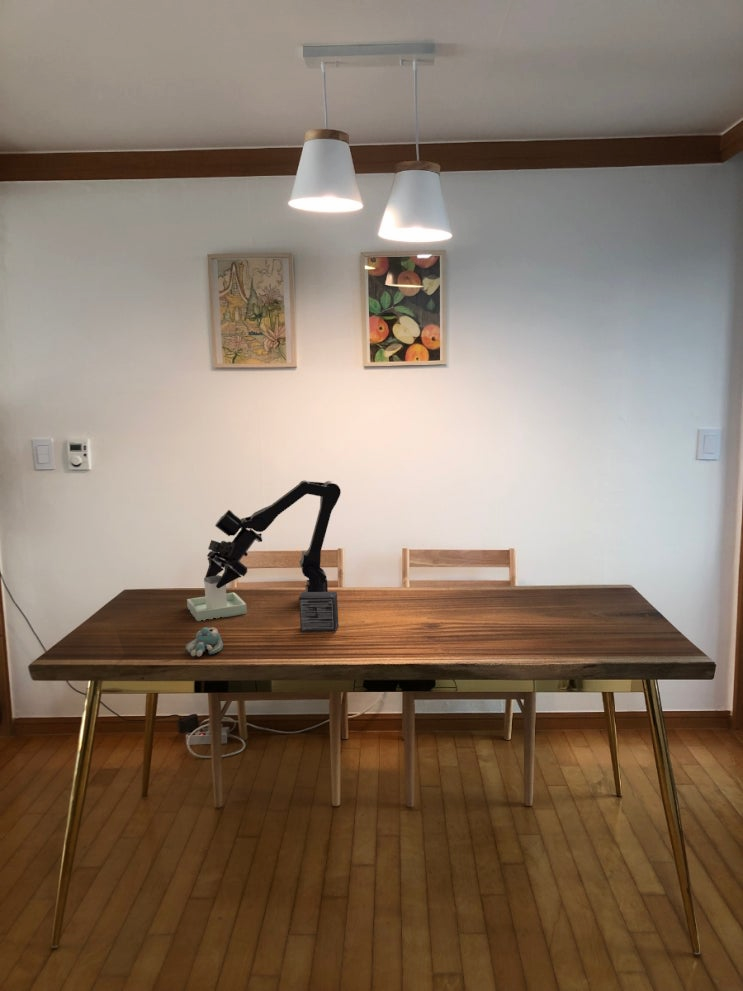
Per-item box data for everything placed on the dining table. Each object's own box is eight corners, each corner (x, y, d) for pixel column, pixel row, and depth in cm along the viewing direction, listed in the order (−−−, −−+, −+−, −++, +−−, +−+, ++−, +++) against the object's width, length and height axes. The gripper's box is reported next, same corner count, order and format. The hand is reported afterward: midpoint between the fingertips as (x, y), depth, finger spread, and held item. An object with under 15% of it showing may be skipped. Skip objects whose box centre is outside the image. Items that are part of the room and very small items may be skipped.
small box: (339, 625, 237) (337, 590, 235) (336, 632, 230) (334, 597, 229) (304, 625, 238) (302, 591, 236) (300, 632, 231) (298, 597, 230)
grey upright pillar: (220, 605, 258) (218, 575, 257) (227, 608, 254) (225, 578, 253) (206, 608, 256) (204, 577, 254) (212, 611, 252) (210, 580, 250)
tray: (235, 601, 265) (234, 592, 265) (247, 613, 251) (246, 604, 251) (187, 608, 259) (187, 599, 259) (197, 621, 245) (196, 611, 245)
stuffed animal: (174, 640, 212) (192, 618, 223) (178, 663, 215) (196, 640, 226) (212, 641, 210) (228, 619, 221) (215, 665, 212) (232, 642, 223)
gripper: (210, 526, 261) (181, 565, 256) (236, 534, 246) (205, 576, 241) (234, 546, 267) (205, 584, 262) (260, 555, 252) (230, 596, 247)
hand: (211, 584), depth 253 cm, fingers open, 9 cm apart
